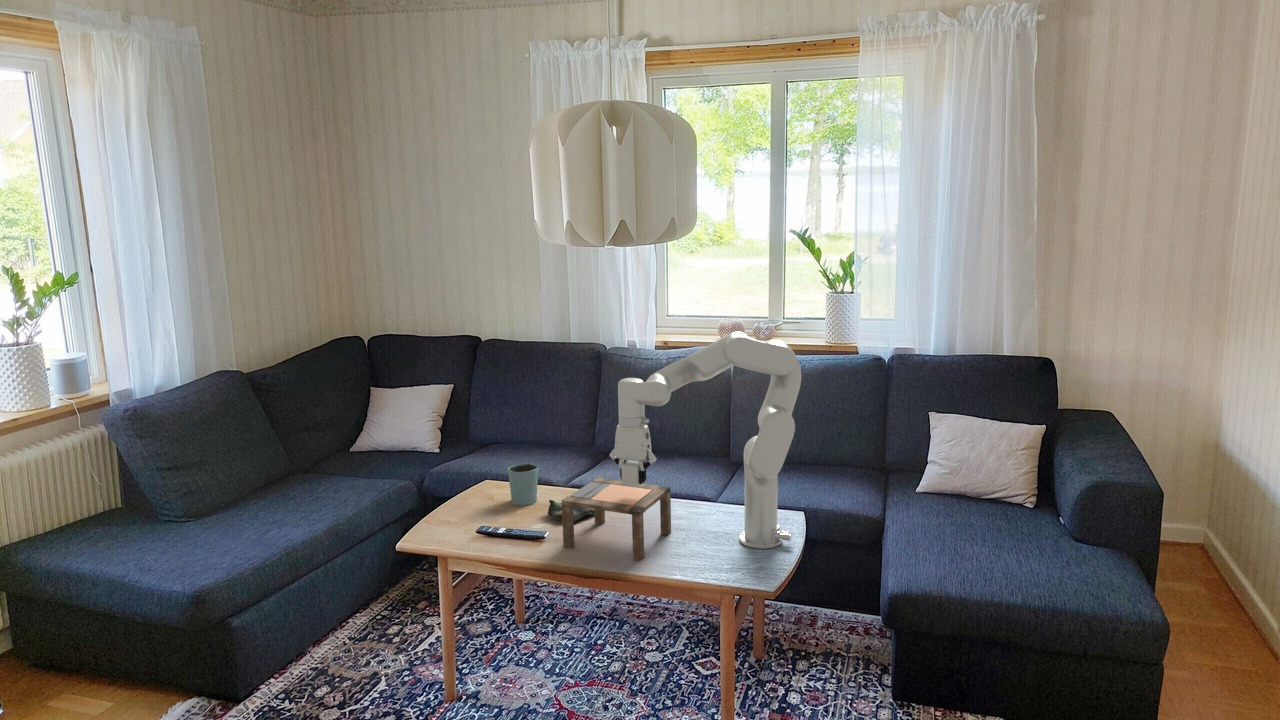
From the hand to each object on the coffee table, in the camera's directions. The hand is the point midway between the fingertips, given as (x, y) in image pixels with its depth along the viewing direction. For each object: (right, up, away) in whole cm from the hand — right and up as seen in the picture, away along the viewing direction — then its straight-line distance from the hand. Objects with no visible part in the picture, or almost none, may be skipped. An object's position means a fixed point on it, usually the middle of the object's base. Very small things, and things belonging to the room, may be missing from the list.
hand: (633, 480), depth 245 cm
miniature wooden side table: (-5, -18, +6) cm, 20 cm away
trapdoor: (-6, -8, +5) cm, 11 cm away
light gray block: (0, -1, 0) cm, 1 cm away
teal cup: (-37, -13, +41) cm, 57 cm away
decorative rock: (-19, -15, +28) cm, 37 cm away
